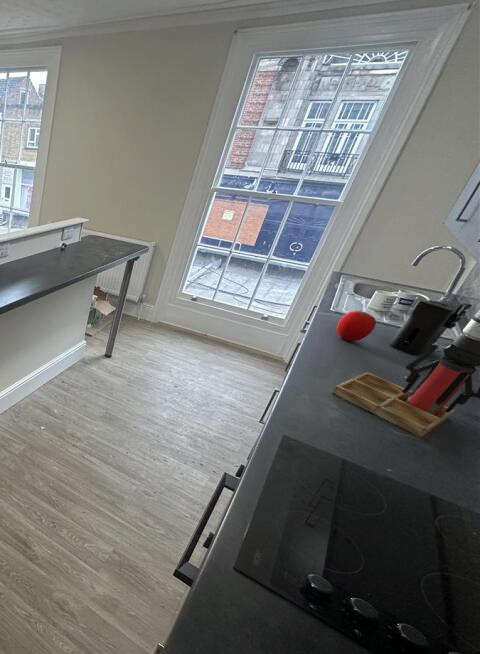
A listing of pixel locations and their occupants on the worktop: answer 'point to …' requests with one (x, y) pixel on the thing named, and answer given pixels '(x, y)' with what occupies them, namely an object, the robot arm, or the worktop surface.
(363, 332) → the red egg shape
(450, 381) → the speaker
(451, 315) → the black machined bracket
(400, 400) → the wooden divided tray
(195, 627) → the worktop surface
